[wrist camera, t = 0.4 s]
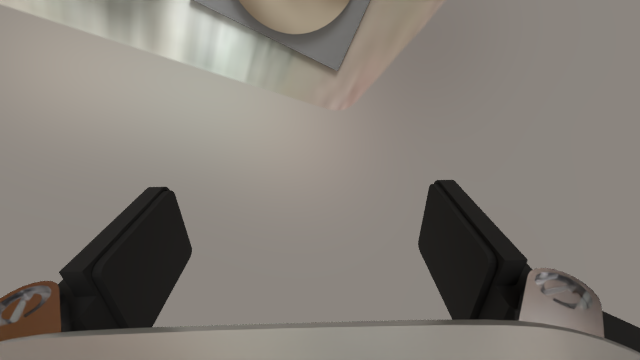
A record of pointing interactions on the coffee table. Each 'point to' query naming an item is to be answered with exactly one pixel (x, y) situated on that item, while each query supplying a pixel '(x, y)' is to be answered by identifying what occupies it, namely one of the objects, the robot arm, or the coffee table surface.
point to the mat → (318, 45)
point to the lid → (294, 13)
